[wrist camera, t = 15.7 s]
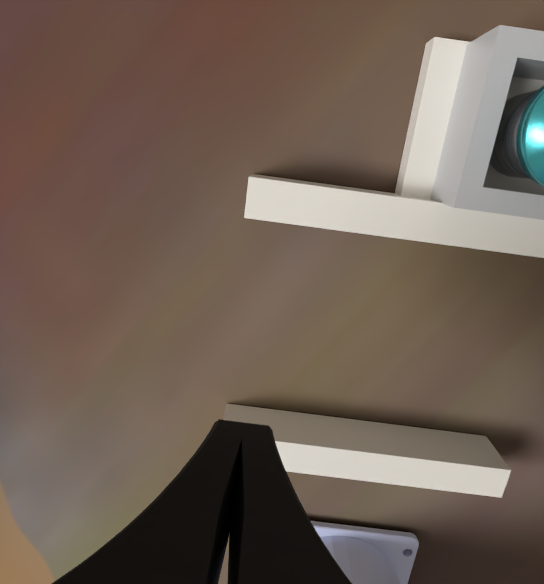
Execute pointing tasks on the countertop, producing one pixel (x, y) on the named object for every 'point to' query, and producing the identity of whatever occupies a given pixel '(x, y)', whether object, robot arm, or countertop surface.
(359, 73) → the countertop surface
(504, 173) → the plunger inner
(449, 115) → the white knob panel
